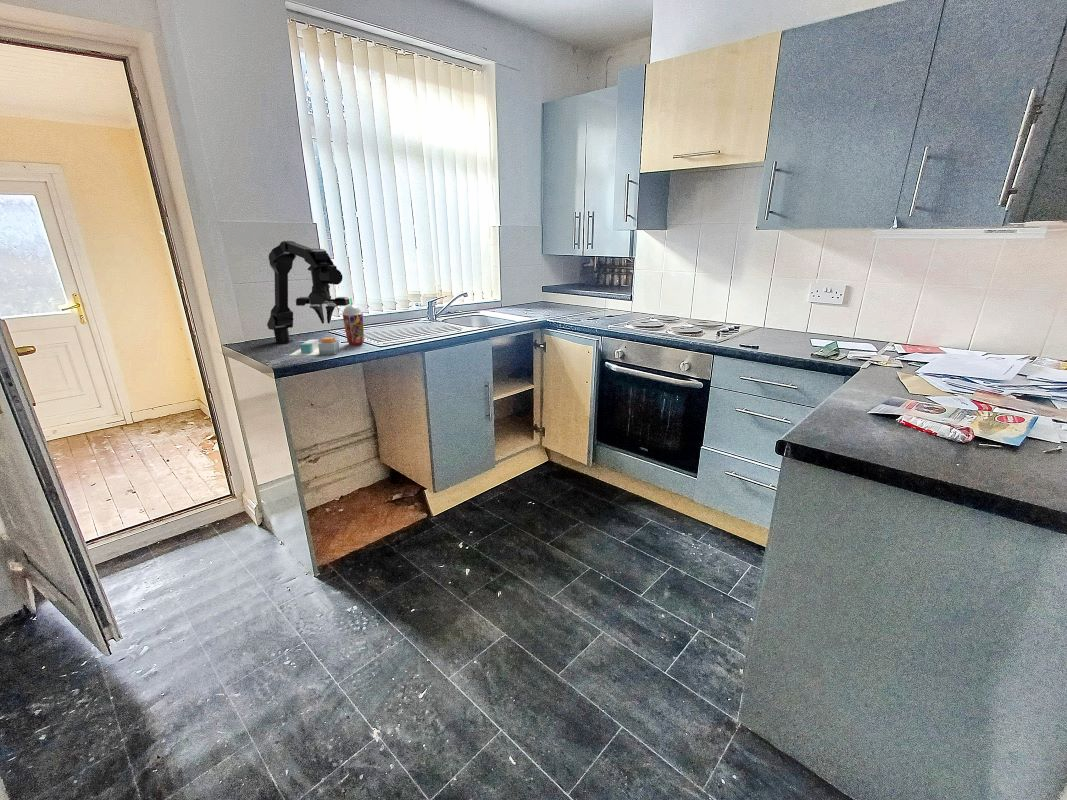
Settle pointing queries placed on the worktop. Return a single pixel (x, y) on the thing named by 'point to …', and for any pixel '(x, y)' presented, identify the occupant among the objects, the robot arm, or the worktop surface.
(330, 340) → the button
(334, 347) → the button housing
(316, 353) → the paper sheet
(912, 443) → the worktop surface
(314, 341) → the milk carton
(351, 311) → the smoothie
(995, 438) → the worktop surface
